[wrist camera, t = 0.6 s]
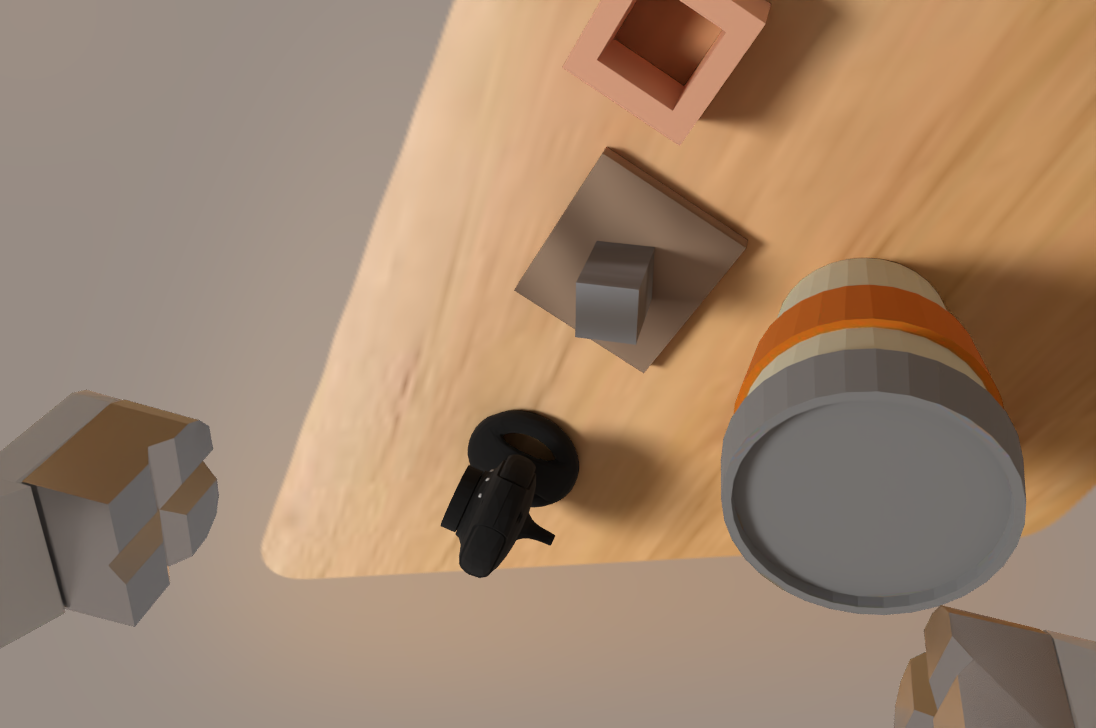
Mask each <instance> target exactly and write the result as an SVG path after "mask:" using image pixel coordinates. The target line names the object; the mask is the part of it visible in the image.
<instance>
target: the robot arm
mask: <svg viewBox="0 0 1096 728" xmlns="http://www.w3.org/2000/svg"><path fill="white" fill-rule="evenodd" d="M212 450H213V445H212V440H211V434H210V429H209V426H208V425H206V424H205V423H203V422H201V421H200V420H197V419H193V418H190V417H186V416H182V415H179V414H176V413H172V412H168V411H165V410H161V409H158V408H154V407H150V406H147V405H143V404H139V403H136V402H132V401H129V400H120V399H117V398H114V397H110V396H107V395H103V394H100V393H96V392H93V391H90V390H83V391H78V392H74V393H71V394H70V395H69V396H68V397H66V398H65V399H64V400H63V401H62V402H60V403H59V404H58V405H57V406H55V407H54V408H53V409H52V410H50V411H49V412H48V413H47V414H46V415H44V416H43V417H42V418H41V419H39V420H38V421H37V422H36V423H34V424H33V425H32V426H31V427H30V428H28V429H27V430H26V431H25V432H23V433H22V434H21V435H20V436H19V437H17V438H16V439H15V440H14V441H12V442H11V443H10V444H9V445H8V446H7V447H5V448H4V449H3V450H1V451H0V648H2V647H4V646H6V645H8V644H10V643H11V642H13V641H15V640H17V639H19V638H20V637H22V636H24V635H26V634H28V633H30V632H31V631H33V630H35V629H37V628H39V627H41V626H42V625H44V624H46V623H48V622H50V621H51V620H53V619H55V618H57V617H59V616H61V615H62V614H64V613H65V610H64V609H68V610H72V611H76V612H80V613H83V614H87V615H91V616H95V617H99V618H102V619H106V620H110V621H114V622H118V623H122V624H126V625H129V626H133V627H135V626H136V625H137V623H138V622H139V621H140V620H141V619H142V617H143V616H144V615H145V614H146V612H147V611H148V610H149V609H150V608H151V606H152V605H153V604H154V603H155V601H156V600H157V599H158V598H159V597H160V595H161V594H162V593H163V592H164V590H165V589H166V588H167V587H168V586H169V584H170V576H169V566H171V565H173V564H176V563H178V562H180V561H182V560H185V559H187V558H189V557H191V556H193V555H194V553H195V552H196V551H197V549H198V548H199V547H200V546H201V544H202V543H203V542H204V540H205V539H206V538H207V535H208V533H209V531H210V528H211V526H212V524H213V521H214V519H215V516H216V513H217V505H218V498H219V494H218V484H217V478H216V477H215V476H214V475H213V474H212V472H211V471H210V469H209V468H208V467H207V466H206V464H205V463H204V462H203V460H204V459H205V458H206V457H207V456H208V454H209V453H210V452H211V451H212ZM924 636H925V646H926V652H924V653H922V654H920V655H918V656H916V657H914V658H912V659H910V661H909V663H908V665H907V668H906V670H905V672H904V674H903V677H902V679H901V682H900V686H899V691H898V695H897V700H896V704H895V715H894V728H1096V642H1095V641H1091V640H1086V639H1082V638H1078V637H1074V636H1069V635H1065V634H1061V633H1057V632H1052V631H1048V630H1043V631H1042V630H1040V629H1037V628H1033V627H1029V626H1025V625H1021V624H1017V623H1012V622H1008V621H1004V620H1000V619H996V618H992V617H988V616H984V615H979V614H975V613H971V612H967V611H963V610H959V609H954V608H951V607H946V606H942V605H940V606H939V607H938V608H937V609H936V610H935V612H934V613H932V615H931V617H930V619H929V621H928V623H927V625H926V627H925V629H924Z"/></svg>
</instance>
